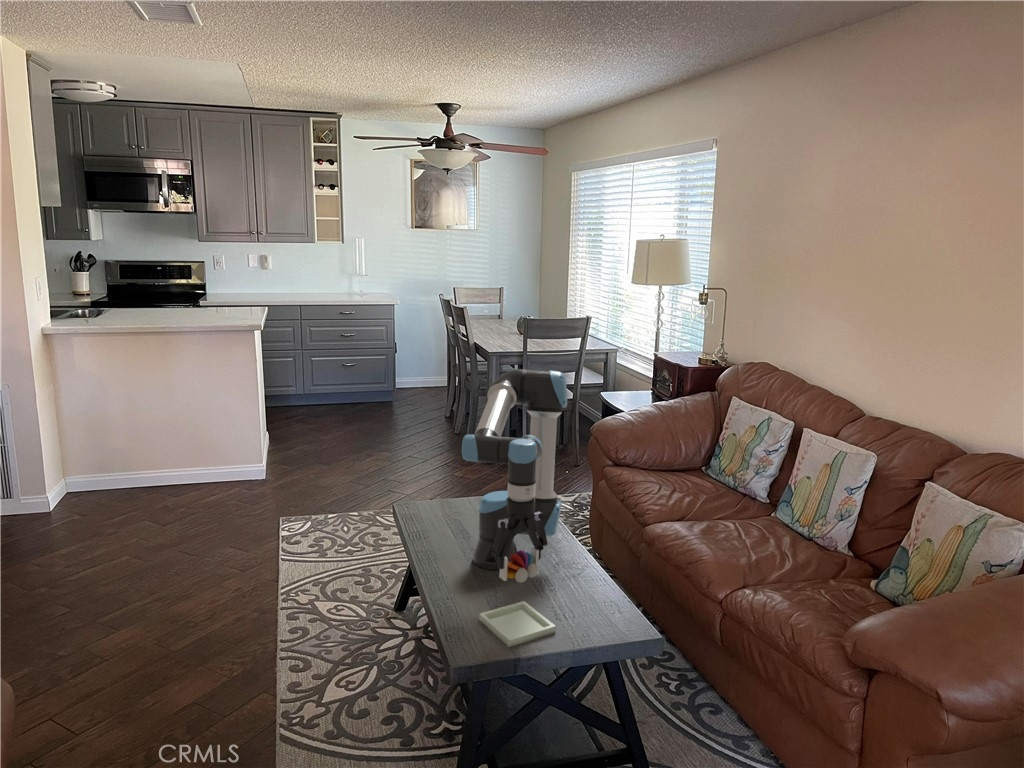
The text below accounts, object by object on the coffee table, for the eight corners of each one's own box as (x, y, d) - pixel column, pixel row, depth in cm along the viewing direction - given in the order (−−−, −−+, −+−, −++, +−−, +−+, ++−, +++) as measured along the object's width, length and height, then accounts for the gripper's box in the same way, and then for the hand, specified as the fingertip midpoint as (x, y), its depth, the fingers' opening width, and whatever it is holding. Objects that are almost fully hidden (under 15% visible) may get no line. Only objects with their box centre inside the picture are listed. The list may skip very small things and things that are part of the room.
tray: (479, 620, 204) (479, 613, 204) (523, 607, 212) (524, 601, 212) (509, 647, 191) (509, 640, 191) (555, 632, 199) (555, 625, 199)
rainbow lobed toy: (495, 576, 198) (496, 551, 197) (520, 566, 205) (521, 541, 204) (518, 587, 192) (518, 561, 191) (542, 576, 199) (543, 551, 198)
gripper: (493, 508, 186) (491, 589, 190) (562, 494, 197) (559, 571, 202) (478, 499, 192) (477, 578, 196) (547, 486, 203) (544, 561, 208)
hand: (518, 574), depth 199 cm, fingers closed on rainbow lobed toy, 9 cm apart
